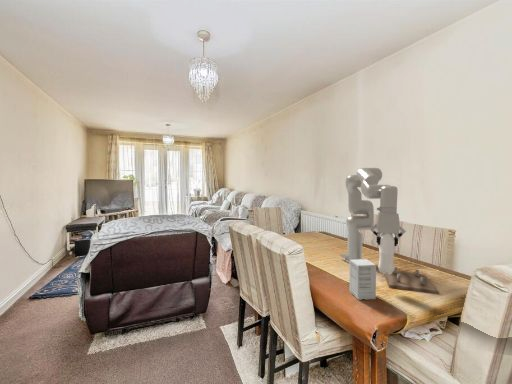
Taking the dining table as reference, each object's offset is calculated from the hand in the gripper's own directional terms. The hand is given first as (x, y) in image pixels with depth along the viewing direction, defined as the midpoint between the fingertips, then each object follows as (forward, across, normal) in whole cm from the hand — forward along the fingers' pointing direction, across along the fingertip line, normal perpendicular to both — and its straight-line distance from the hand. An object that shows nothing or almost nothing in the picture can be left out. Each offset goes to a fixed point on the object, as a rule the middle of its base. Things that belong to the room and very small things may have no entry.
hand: (386, 244), depth 129 cm
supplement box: (+24, -12, -10) cm, 29 cm away
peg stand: (+24, +13, +15) cm, 31 cm away
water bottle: (+15, 0, 0) cm, 15 cm away
